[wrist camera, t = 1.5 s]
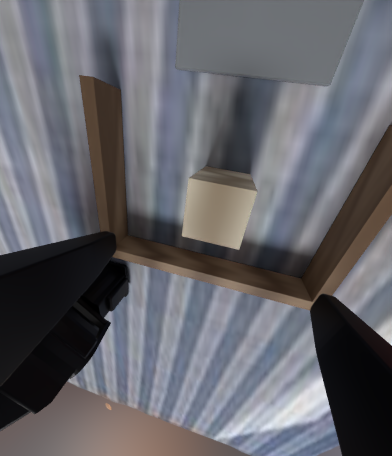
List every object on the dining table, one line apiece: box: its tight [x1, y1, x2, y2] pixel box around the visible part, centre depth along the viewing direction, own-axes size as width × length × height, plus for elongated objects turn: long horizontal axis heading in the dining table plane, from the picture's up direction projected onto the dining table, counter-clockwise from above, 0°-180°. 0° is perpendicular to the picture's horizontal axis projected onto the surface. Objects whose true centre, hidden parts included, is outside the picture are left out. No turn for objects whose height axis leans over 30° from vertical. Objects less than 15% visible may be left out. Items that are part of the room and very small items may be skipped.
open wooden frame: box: [79, 75, 392, 310], centre depth 17 cm, size 25×17×4 cm
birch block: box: [182, 166, 257, 250], centre depth 15 cm, size 4×4×7 cm
